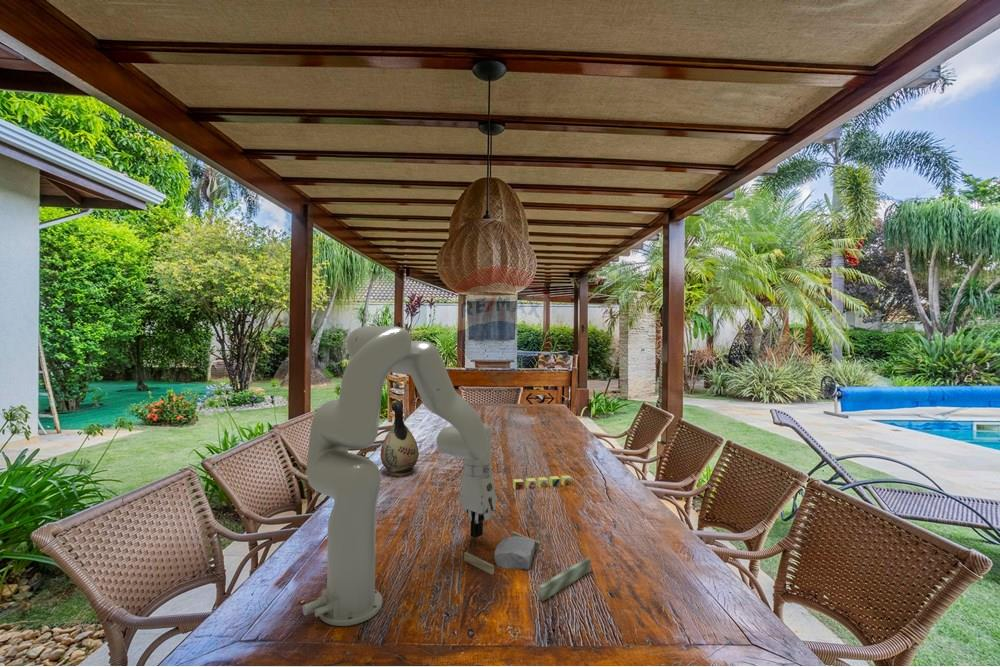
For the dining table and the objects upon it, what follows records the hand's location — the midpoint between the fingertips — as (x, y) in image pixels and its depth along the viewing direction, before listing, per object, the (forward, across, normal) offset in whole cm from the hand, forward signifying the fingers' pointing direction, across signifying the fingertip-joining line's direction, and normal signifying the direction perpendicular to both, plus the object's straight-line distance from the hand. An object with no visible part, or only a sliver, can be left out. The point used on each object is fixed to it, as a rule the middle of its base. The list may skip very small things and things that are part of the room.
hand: (476, 535), depth 128 cm
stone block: (+2, -13, -1) cm, 13 cm away
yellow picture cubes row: (+3, +15, -51) cm, 53 cm away
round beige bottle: (+2, +68, -21) cm, 72 cm away
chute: (+2, -17, 0) cm, 17 cm away
